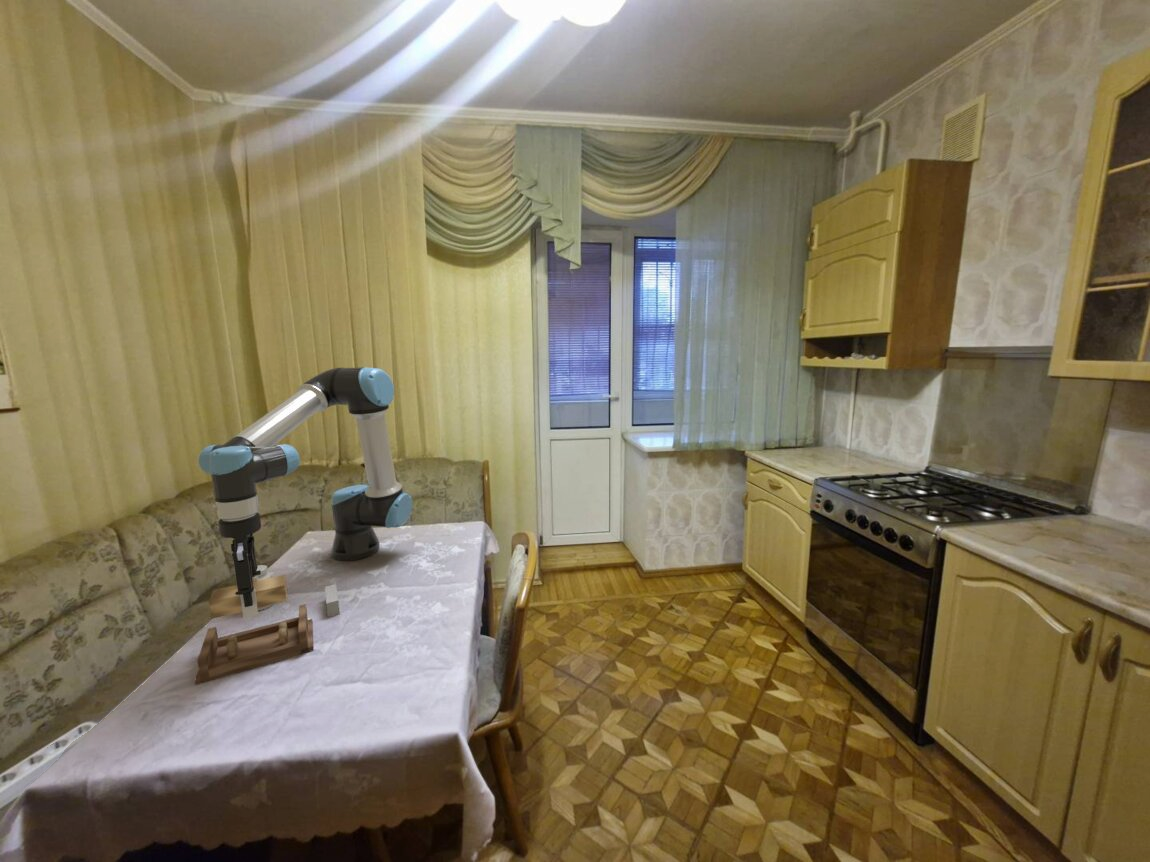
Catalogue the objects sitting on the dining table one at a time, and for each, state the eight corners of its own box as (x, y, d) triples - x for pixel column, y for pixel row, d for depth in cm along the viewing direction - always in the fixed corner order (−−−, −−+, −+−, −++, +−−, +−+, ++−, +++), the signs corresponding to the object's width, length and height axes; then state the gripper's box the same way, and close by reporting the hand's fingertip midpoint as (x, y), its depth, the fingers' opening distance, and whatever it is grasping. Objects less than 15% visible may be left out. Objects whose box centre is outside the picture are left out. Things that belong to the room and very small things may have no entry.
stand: (326, 599, 130) (324, 586, 129) (337, 596, 132) (336, 584, 131) (328, 617, 122) (326, 603, 121) (339, 614, 123) (338, 600, 122)
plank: (287, 589, 112) (285, 574, 111) (286, 601, 107) (284, 585, 106) (215, 606, 105) (213, 590, 104) (211, 619, 100) (208, 602, 99)
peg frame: (206, 650, 109) (202, 630, 108) (312, 622, 120) (310, 603, 119) (195, 685, 98) (191, 662, 97) (313, 650, 108) (310, 629, 107)
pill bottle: (254, 601, 130) (249, 565, 128) (278, 598, 131) (273, 562, 129) (245, 613, 124) (239, 575, 122) (270, 610, 125) (265, 572, 123)
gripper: (224, 506, 109) (237, 596, 113) (210, 533, 92) (226, 637, 96) (262, 501, 112) (274, 587, 116) (255, 526, 96) (269, 626, 100)
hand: (252, 610), depth 106 cm, fingers closed on plank, 6 cm apart
